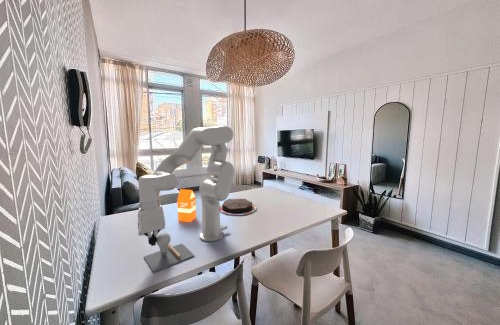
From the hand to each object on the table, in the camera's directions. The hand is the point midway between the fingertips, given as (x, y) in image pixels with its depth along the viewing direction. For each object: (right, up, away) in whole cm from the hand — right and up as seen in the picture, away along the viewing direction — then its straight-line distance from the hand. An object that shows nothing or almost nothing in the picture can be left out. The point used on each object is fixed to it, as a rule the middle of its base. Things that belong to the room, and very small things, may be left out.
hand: (152, 244), depth 94 cm
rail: (+7, -7, +7) cm, 12 cm away
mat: (+5, -7, +4) cm, 10 cm away
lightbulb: (+3, -7, +4) cm, 9 cm away
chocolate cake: (+33, +1, +67) cm, 75 cm away
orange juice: (+1, -2, +48) cm, 48 cm away
